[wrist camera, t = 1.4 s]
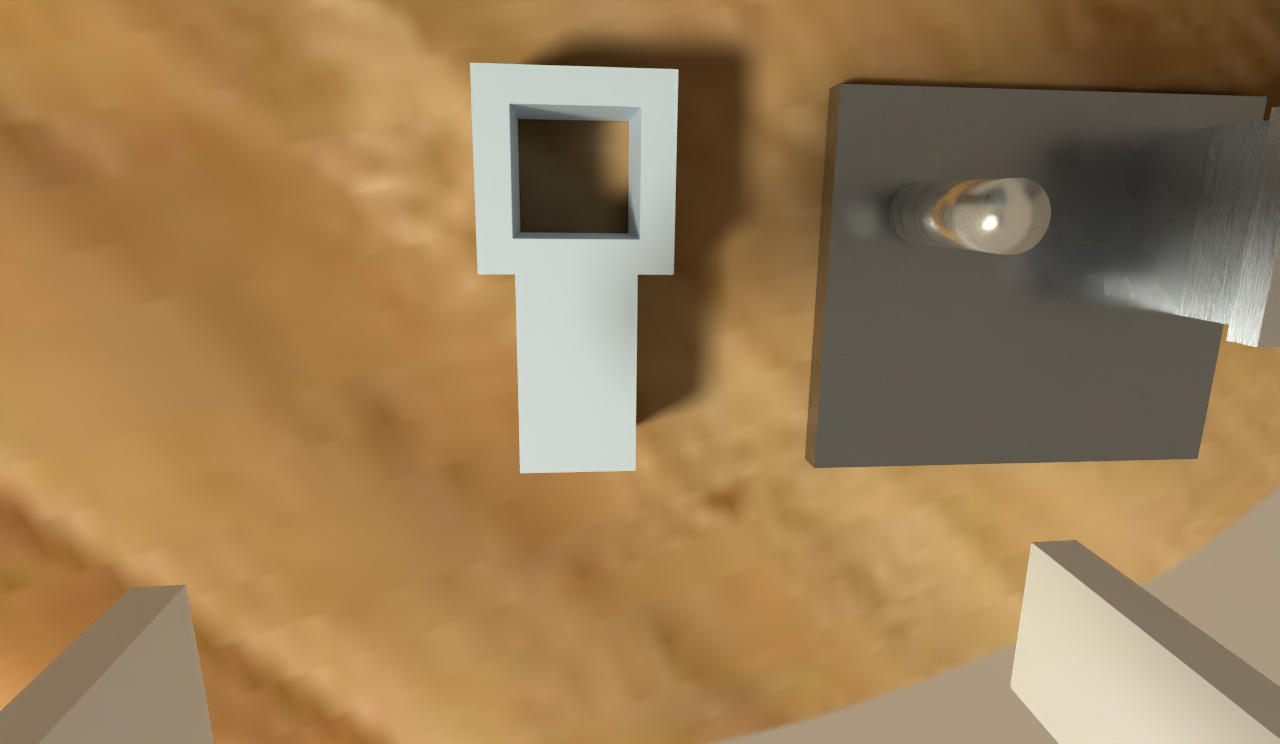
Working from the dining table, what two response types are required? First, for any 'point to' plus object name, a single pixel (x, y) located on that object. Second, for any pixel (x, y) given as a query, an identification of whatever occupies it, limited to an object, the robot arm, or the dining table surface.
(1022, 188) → the cylinder
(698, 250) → the dining table surface
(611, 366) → the link
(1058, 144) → the keeper plate
